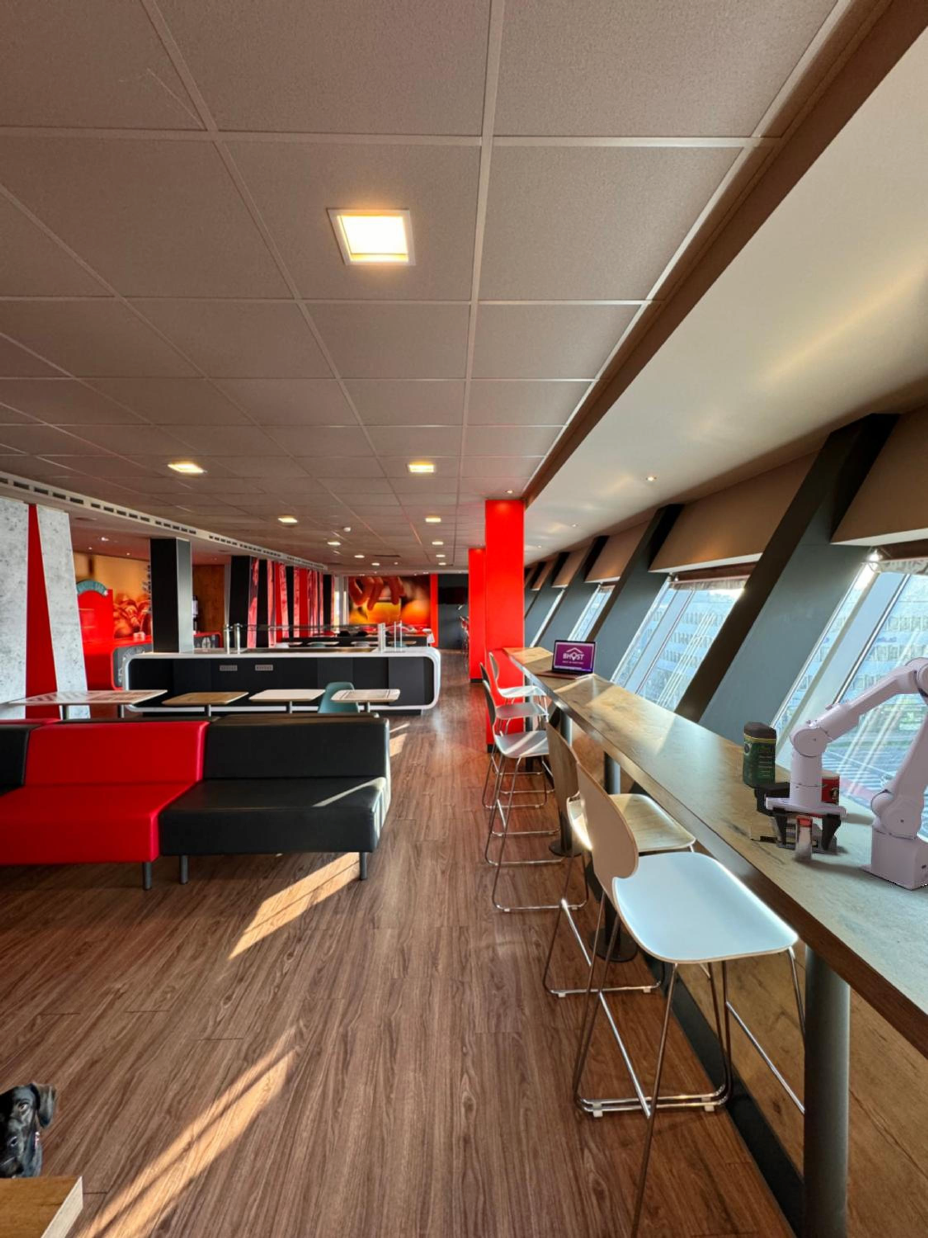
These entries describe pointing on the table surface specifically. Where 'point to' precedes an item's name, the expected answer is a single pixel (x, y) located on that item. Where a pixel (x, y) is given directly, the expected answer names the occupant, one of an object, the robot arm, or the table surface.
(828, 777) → the canned food
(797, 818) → the clear red-capped cylinder
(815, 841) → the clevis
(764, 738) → the coffee jar
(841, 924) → the table surface
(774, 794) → the digital camera
